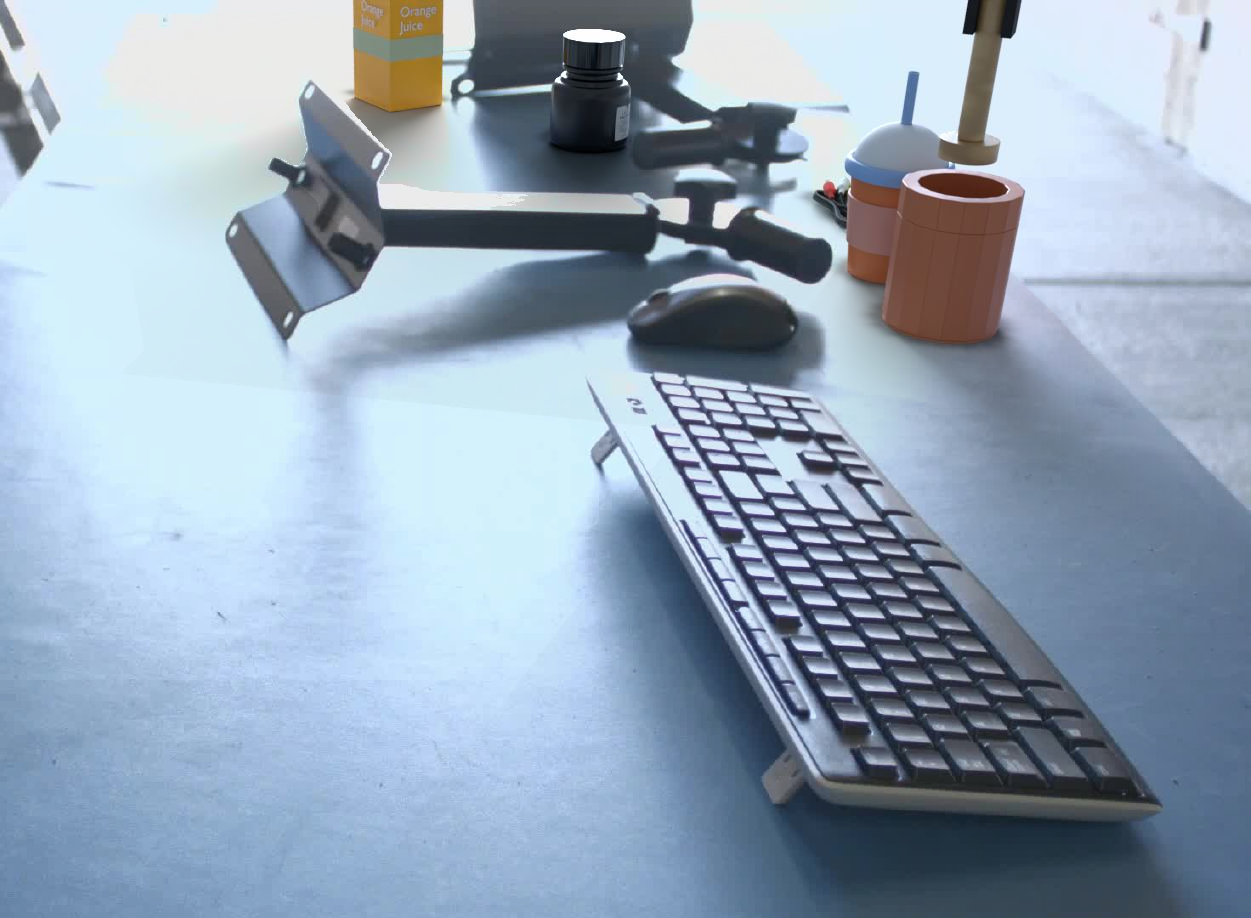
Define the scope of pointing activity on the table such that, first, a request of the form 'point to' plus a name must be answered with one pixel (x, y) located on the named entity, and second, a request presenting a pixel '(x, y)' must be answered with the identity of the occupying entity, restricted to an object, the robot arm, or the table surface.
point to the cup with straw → (884, 185)
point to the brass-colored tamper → (978, 94)
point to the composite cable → (835, 199)
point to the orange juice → (398, 53)
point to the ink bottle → (590, 93)
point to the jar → (951, 255)
